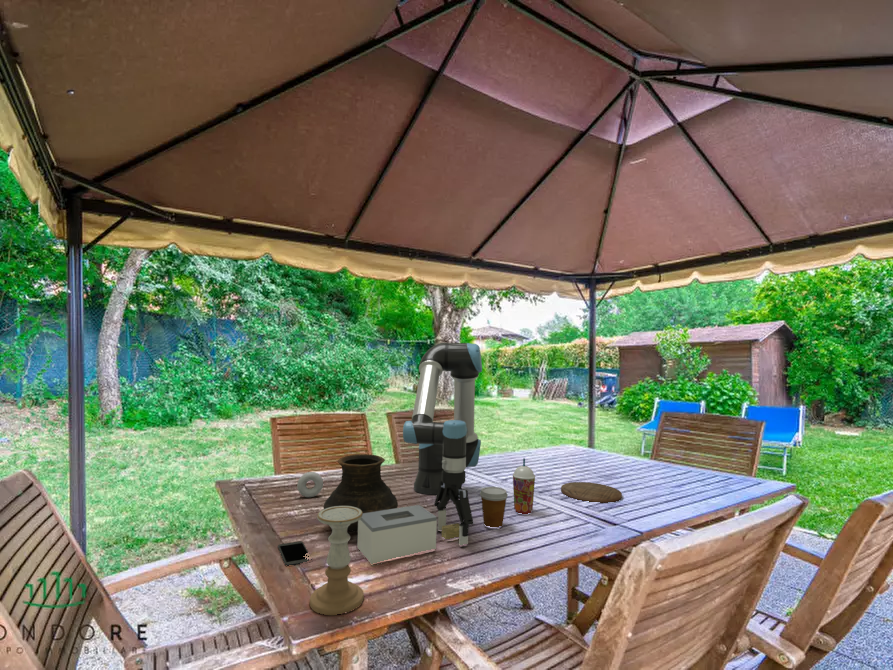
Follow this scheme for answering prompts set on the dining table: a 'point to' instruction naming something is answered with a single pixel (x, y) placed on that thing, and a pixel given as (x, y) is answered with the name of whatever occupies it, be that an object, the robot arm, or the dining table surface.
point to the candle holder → (338, 565)
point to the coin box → (396, 533)
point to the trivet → (591, 492)
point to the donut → (305, 478)
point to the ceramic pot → (362, 486)
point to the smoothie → (523, 489)
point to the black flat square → (293, 553)
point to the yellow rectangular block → (450, 531)
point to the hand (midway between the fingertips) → (452, 538)
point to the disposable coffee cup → (493, 505)
